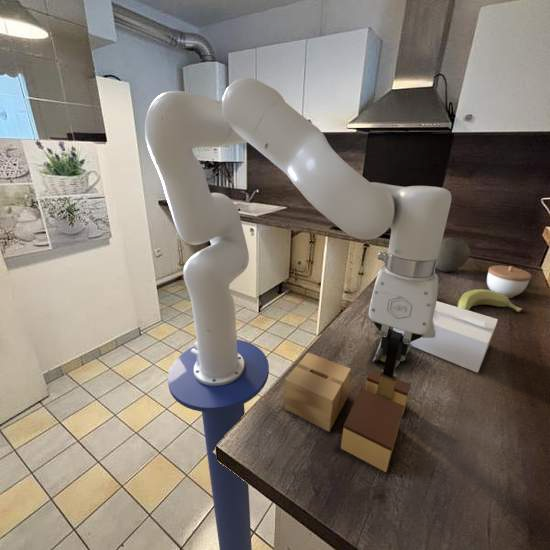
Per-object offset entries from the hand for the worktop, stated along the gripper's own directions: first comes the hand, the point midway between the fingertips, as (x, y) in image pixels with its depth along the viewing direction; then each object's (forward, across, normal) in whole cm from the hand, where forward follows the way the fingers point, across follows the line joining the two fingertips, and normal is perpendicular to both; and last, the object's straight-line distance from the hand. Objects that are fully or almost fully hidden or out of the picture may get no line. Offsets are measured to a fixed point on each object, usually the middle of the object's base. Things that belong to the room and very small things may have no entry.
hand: (392, 353), depth 55 cm
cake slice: (+14, 0, +2) cm, 14 cm away
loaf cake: (+14, 0, -8) cm, 16 cm away
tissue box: (+14, +6, +33) cm, 36 cm away
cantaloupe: (+6, +4, +94) cm, 94 cm away
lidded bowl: (+14, +24, +80) cm, 85 cm away
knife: (+13, 0, 0) cm, 13 cm away
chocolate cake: (+14, -2, +19) cm, 24 cm away
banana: (+14, +20, +62) cm, 66 cm away
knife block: (+14, -12, -6) cm, 20 cm away
